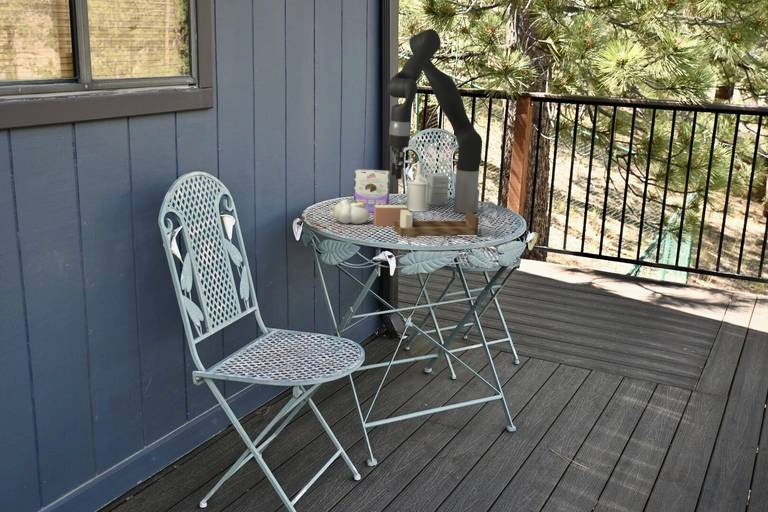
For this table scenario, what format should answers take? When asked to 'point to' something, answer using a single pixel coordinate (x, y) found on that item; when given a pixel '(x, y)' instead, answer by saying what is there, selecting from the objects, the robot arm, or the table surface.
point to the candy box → (372, 187)
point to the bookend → (406, 219)
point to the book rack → (440, 227)
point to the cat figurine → (350, 212)
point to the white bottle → (418, 191)
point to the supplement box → (437, 188)
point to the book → (387, 214)
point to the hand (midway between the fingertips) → (396, 177)
